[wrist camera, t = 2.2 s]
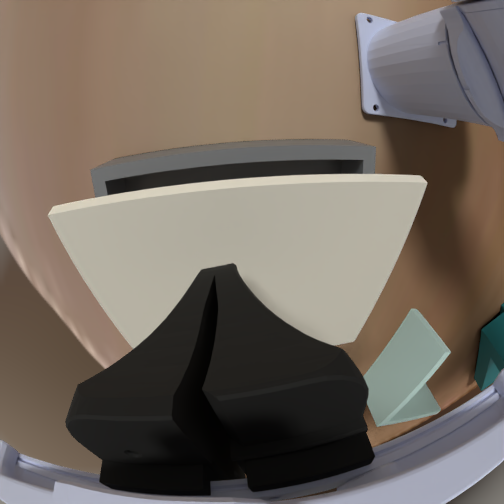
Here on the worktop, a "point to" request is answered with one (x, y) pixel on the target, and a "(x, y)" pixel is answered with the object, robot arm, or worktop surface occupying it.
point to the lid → (246, 246)
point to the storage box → (232, 163)
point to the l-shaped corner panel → (406, 373)
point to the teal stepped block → (490, 352)
